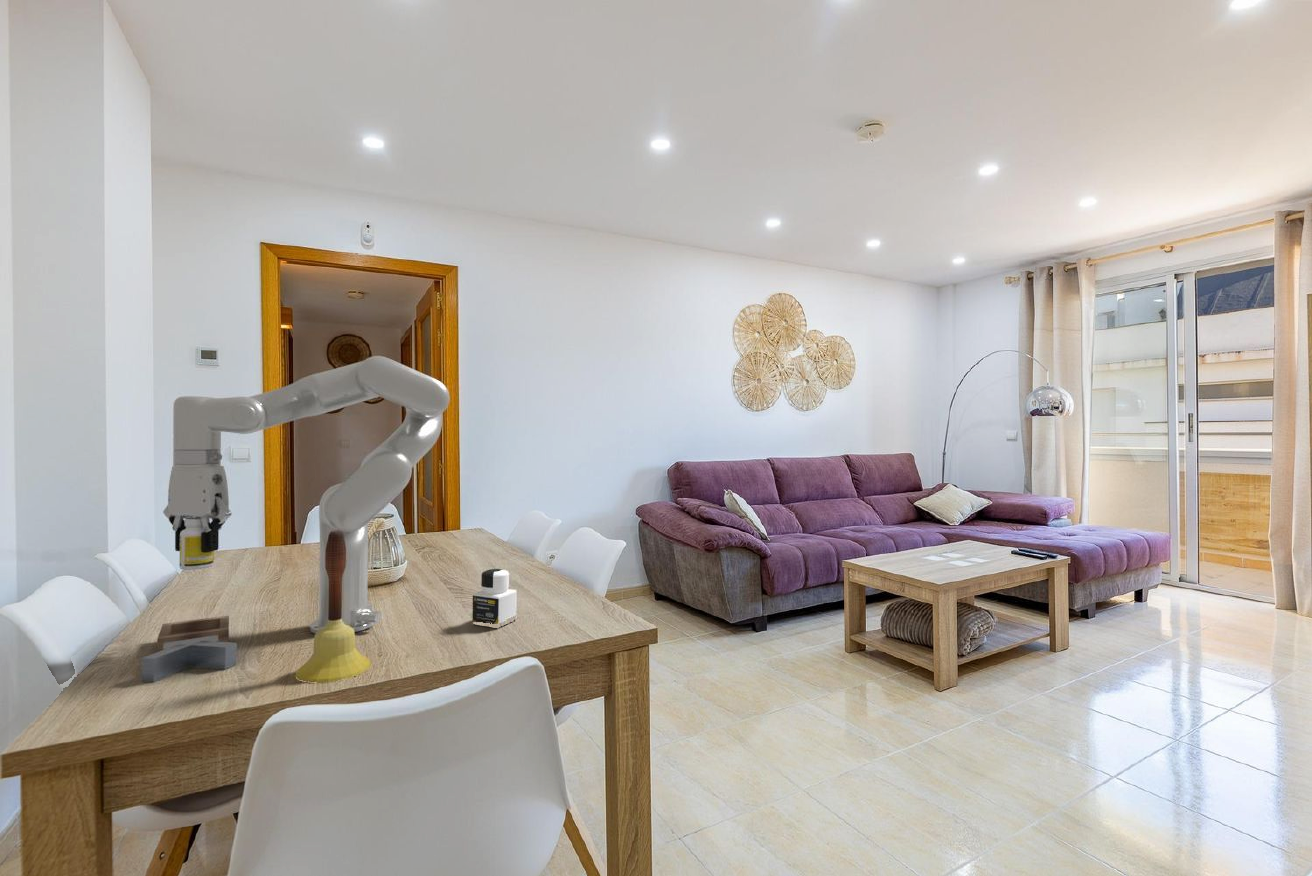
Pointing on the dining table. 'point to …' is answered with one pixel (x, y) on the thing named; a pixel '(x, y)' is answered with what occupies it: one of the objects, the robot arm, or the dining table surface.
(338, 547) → the handbell
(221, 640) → the sleeve block
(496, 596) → the medicine bottle
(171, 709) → the dining table surface
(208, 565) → the supplement bottle
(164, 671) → the v block
